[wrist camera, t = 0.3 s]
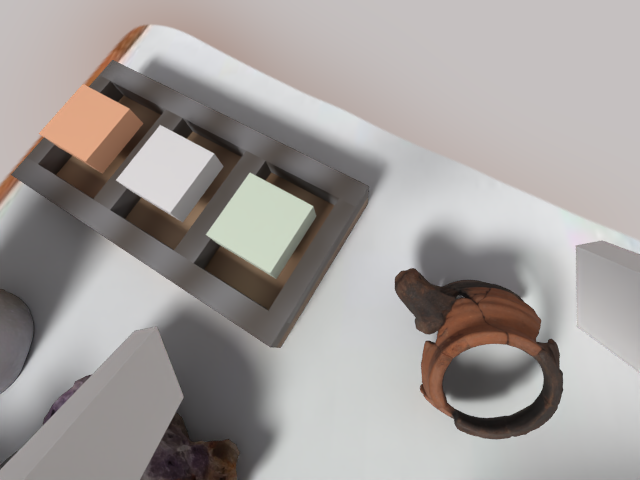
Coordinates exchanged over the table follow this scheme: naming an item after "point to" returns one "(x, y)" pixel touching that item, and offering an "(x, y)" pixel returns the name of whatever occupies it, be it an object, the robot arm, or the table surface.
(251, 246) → the sage key
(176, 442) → the rock
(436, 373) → the pottery mug
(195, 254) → the keypad
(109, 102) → the orange square block
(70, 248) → the table surface
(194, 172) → the white key
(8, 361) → the pillar candle
